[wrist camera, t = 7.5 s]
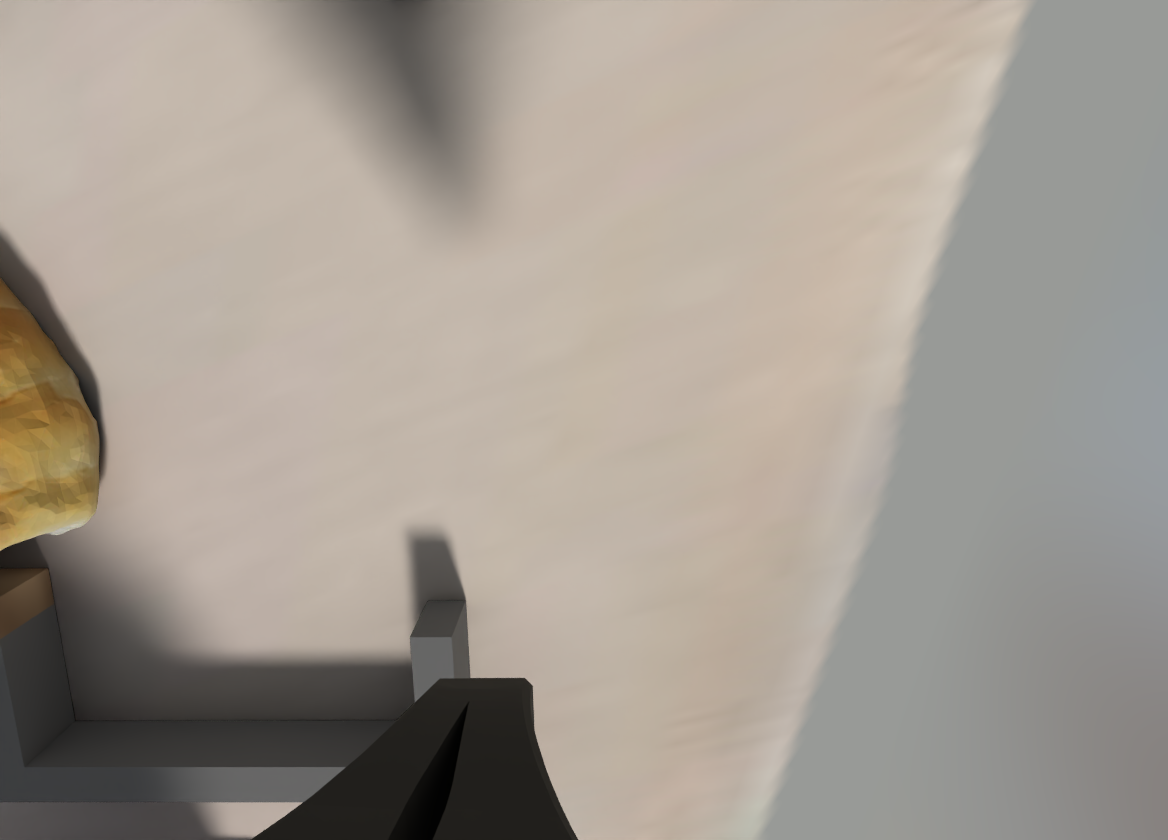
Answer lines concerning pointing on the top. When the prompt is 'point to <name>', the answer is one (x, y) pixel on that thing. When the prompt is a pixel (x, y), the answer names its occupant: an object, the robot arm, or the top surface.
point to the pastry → (41, 433)
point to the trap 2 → (182, 732)
